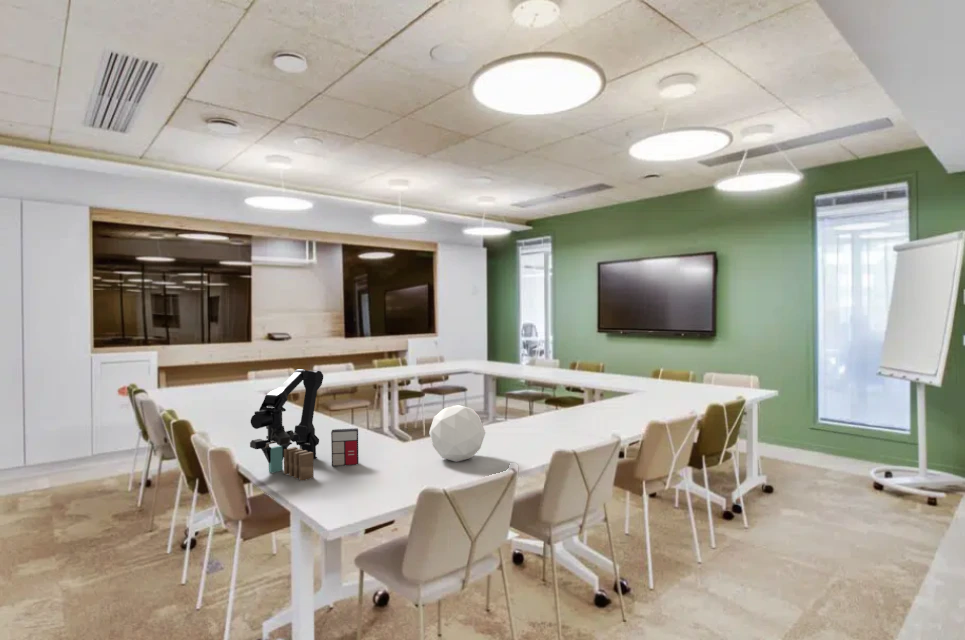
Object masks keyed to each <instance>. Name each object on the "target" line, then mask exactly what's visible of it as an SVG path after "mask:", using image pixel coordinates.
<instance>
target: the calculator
mask: <svg viewBox="0 0 965 640" xmlns="http://www.w3.org/2000/svg"><path fill="white" fill-rule="evenodd" d="M330 434H331V443H330V444H331V445H330V446H331V466H332V467H342V466H345V465H346V466H357V465H356V464H358V465H359V463H360V462H359V428H354V427H353V428H342V429H341V428H340V429H339V428H338V429H337V428H335V429H332V430H331V432H330Z"/></svg>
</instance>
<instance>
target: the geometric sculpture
mask: <svg viewBox="0 0 965 640" xmlns="http://www.w3.org/2000/svg"><path fill="white" fill-rule="evenodd" d="M428 433H429V437H430V440H431V445H432V447H433V448H434V450H435V451H436V452H437V454H438V455H439V456H440V457H441V458H442V459H445V460H449V461H452V462H456V463H458V462H462V461H465V460H468V459H472V458H473V457H474V455H476V453H478V452H479V451H480V449H481V448H482V445H483V442H484V438H485V436H486V430H485V427H484V425H483V423H482V420H481V417H480V416H479V414H478V413H477V412H476V411H475V409H474V408H471V407H468V406H464V405H460V404H454V405H451V406H447V407H445V408H443V409H441V410H440V411H439V412H438V413H437V414H436V415H434V416H433V418H432V423H431V425H430V428H429V432H428Z"/></svg>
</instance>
